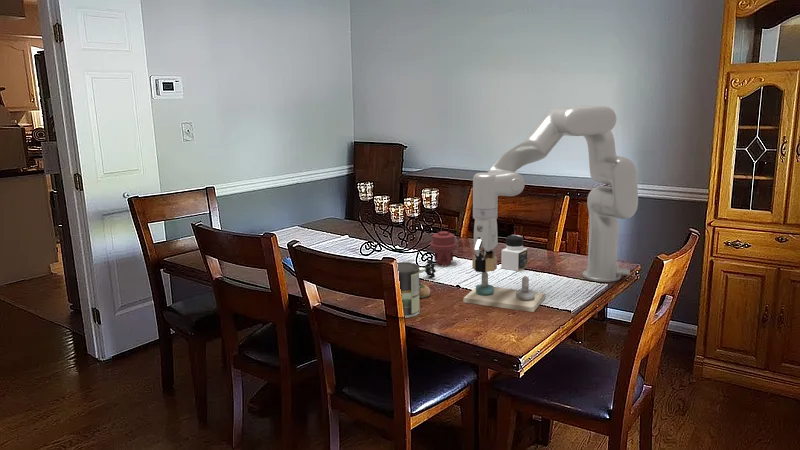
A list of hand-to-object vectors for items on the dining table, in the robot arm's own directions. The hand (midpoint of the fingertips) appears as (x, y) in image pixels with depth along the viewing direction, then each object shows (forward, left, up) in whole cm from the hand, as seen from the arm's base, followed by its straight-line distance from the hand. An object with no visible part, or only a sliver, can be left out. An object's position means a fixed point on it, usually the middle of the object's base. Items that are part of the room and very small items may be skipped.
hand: (484, 268), depth 194 cm
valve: (+28, -9, -10) cm, 31 cm away
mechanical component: (+27, -31, -10) cm, 42 cm away
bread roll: (+22, +5, -10) cm, 25 cm away
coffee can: (+18, +22, -10) cm, 30 cm away
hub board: (-7, 0, -10) cm, 12 cm away
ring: (0, 0, 0) cm, 0 cm away
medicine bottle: (+1, -36, -10) cm, 37 cm away
